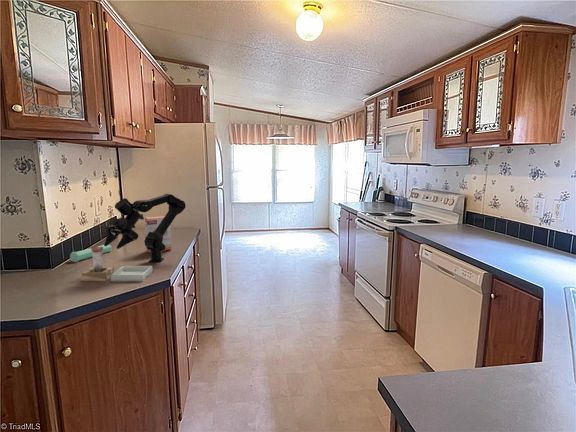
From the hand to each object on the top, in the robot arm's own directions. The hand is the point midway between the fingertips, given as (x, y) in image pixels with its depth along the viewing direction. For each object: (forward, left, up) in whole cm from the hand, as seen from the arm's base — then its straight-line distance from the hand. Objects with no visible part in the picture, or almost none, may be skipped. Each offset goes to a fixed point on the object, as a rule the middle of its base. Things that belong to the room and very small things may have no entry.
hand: (111, 247), depth 167 cm
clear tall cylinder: (+6, -4, -13) cm, 15 cm away
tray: (+5, +11, -13) cm, 18 cm away
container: (-32, -24, -13) cm, 42 cm away
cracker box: (-44, +9, -13) cm, 47 cm away
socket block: (+6, -4, -13) cm, 15 cm away
